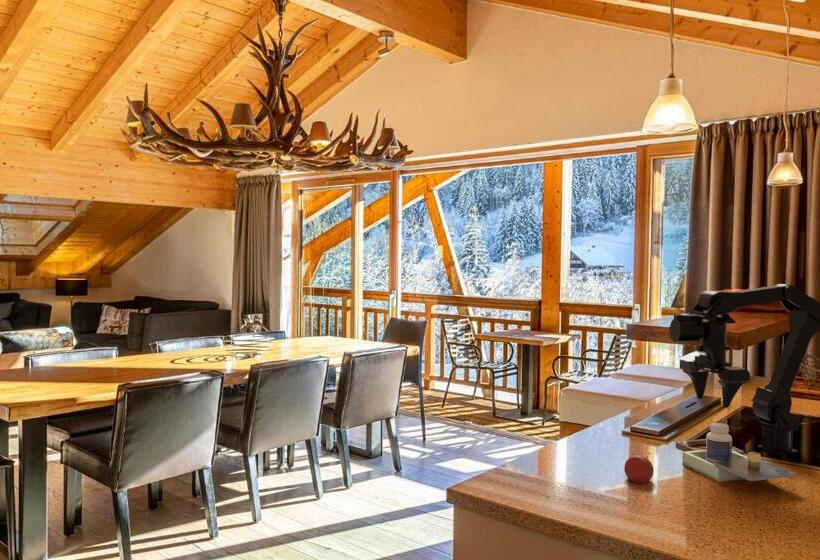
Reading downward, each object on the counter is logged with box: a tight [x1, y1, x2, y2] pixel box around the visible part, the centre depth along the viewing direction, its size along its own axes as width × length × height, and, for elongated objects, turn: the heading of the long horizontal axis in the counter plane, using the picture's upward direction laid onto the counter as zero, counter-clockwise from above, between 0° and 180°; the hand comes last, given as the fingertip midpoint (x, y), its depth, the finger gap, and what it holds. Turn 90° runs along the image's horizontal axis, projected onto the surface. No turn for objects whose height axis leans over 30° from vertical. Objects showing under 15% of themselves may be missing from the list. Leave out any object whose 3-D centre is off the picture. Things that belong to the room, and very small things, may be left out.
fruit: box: [623, 452, 654, 484], centre depth 145 cm, size 6×6×8 cm
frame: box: [675, 438, 745, 456], centre depth 164 cm, size 11×11×1 cm
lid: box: [713, 451, 798, 482], centre depth 141 cm, size 12×11×4 cm
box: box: [682, 449, 748, 483], centre depth 150 cm, size 12×12×3 cm
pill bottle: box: [705, 422, 733, 463], centre depth 151 cm, size 5×5×10 cm
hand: (712, 403), depth 163 cm, fingers open, 9 cm apart
